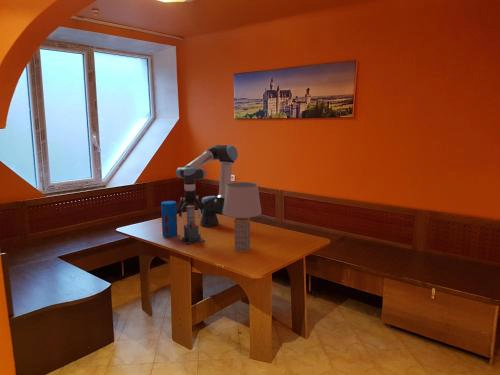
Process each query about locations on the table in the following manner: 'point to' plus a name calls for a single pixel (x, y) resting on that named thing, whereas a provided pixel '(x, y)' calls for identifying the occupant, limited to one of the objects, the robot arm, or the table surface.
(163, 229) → the thermos
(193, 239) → the stand base
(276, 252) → the table surface
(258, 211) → the lamp
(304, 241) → the table surface
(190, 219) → the column
